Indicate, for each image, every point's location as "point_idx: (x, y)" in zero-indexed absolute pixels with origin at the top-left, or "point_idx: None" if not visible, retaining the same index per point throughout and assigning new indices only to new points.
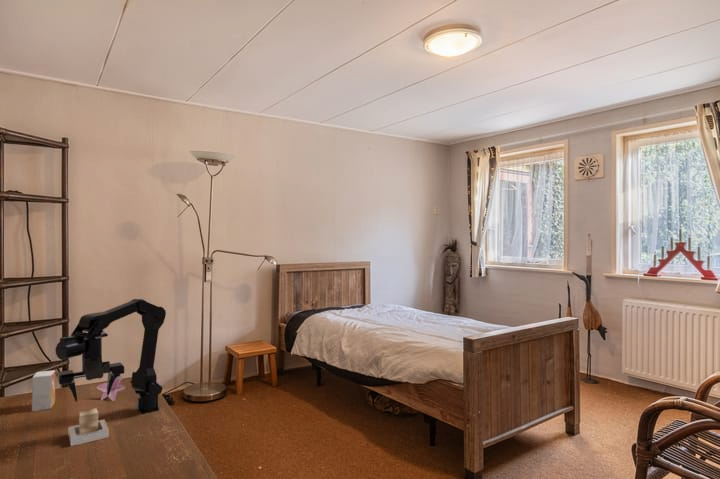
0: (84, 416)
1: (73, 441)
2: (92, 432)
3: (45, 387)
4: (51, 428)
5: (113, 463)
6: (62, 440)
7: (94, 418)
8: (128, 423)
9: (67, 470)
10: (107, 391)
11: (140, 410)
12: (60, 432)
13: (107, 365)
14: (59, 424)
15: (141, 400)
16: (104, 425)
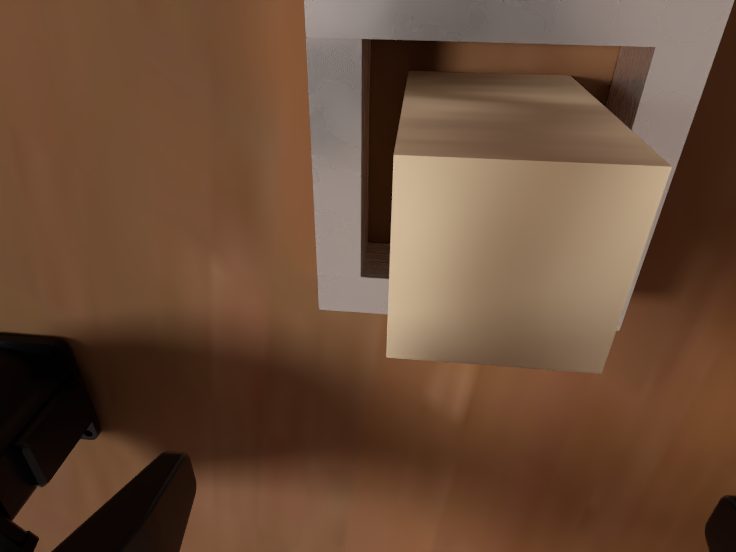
0: (602, 155)
1: None
2: (482, 7)
3: None
4: (640, 459)
5: None
6: (683, 196)
7: (449, 129)
8: (147, 217)
9: None
10: (149, 524)
11: (67, 376)
12: (625, 365)
13: None
14: (577, 485)
15: (3, 436)
16: (333, 153)
